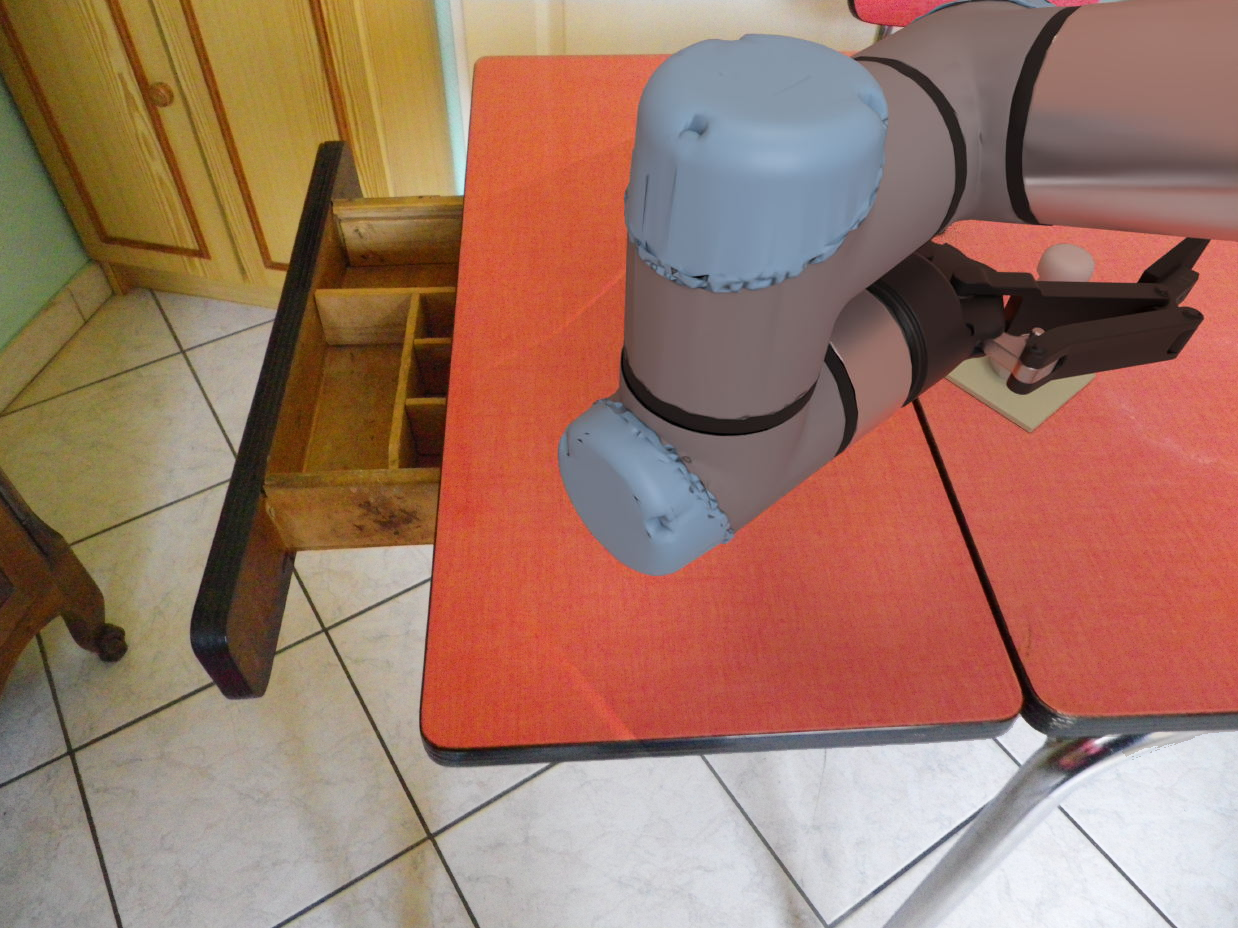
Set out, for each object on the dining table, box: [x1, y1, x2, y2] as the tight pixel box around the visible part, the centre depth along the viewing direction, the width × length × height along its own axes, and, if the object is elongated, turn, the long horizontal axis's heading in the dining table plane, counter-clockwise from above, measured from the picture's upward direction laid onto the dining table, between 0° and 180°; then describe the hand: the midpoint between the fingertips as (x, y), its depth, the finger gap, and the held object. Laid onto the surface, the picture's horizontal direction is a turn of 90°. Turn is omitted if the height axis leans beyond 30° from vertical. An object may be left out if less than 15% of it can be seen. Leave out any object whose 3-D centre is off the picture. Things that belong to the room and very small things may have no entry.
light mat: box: [943, 355, 1096, 434], centre depth 80 cm, size 11×11×1 cm
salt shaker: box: [990, 242, 1097, 380], centre depth 75 cm, size 6×6×13 cm
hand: (1083, 193), depth 50 cm, fingers open, 13 cm apart
